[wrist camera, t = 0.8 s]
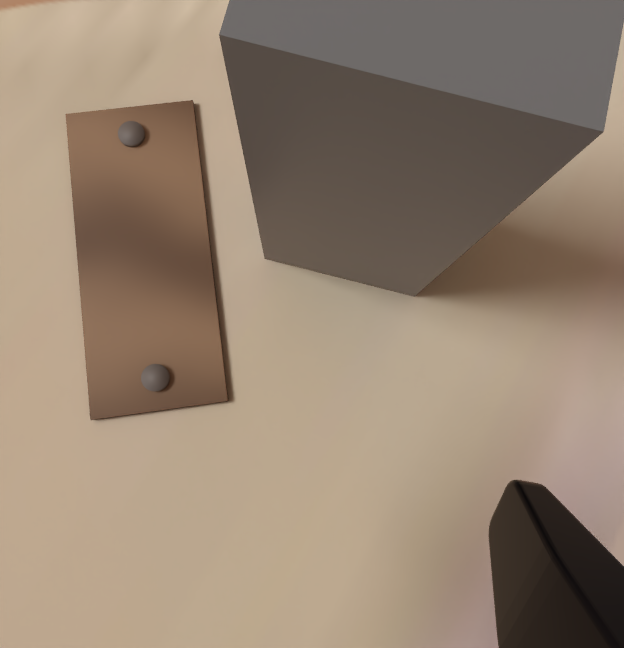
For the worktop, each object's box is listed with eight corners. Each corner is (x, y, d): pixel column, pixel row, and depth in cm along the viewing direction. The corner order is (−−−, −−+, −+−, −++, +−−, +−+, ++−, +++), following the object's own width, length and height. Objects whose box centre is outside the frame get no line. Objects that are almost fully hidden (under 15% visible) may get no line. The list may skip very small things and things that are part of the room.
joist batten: (228, 400, 20) (226, 401, 20) (92, 419, 20) (88, 420, 20) (193, 102, 22) (191, 97, 21) (67, 116, 22) (63, 111, 21)
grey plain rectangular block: (414, 296, 21) (603, 131, 8) (264, 258, 21) (218, 35, 8) (437, 196, 22) (646, -103, 9) (291, 159, 22) (288, -193, 9)
